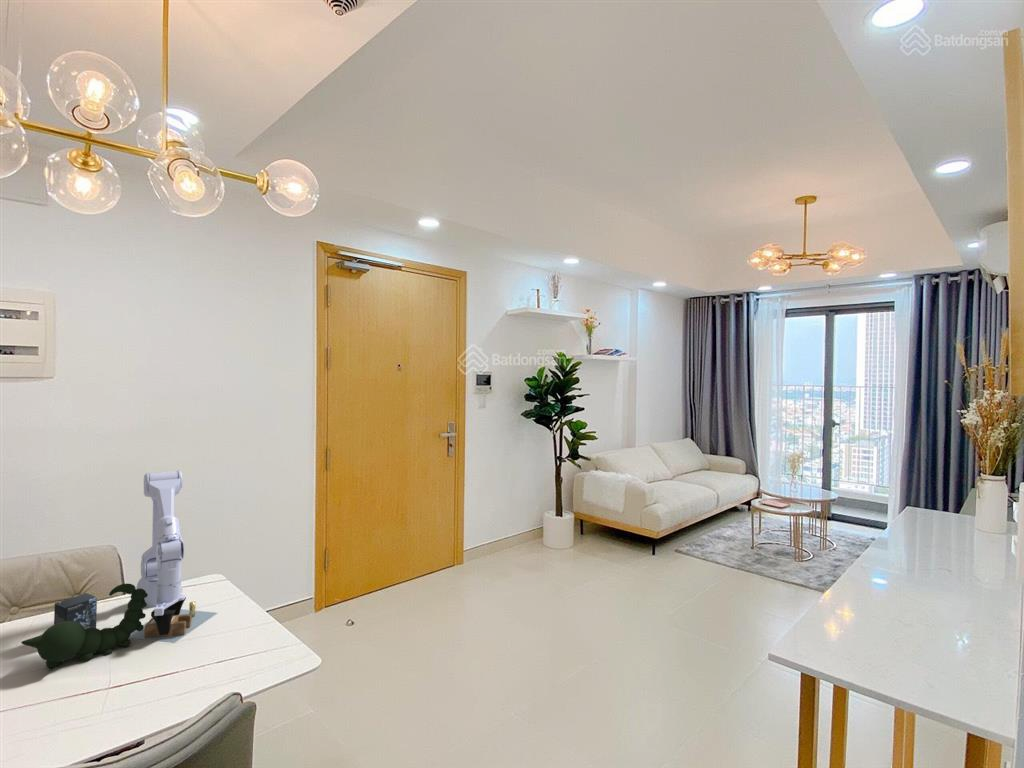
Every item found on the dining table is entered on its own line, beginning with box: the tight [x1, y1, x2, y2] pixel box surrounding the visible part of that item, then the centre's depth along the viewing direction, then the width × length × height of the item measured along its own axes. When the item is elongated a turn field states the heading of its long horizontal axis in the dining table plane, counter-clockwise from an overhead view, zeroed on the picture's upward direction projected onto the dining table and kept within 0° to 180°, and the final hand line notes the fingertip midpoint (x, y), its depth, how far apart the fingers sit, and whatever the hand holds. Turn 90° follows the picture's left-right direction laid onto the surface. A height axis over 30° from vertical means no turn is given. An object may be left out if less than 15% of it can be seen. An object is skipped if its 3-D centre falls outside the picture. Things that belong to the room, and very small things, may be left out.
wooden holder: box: [144, 614, 192, 638], centre depth 150 cm, size 10×6×4 cm, turn 104°
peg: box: [188, 601, 197, 618], centre depth 159 cm, size 2×2×4 cm
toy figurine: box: [21, 583, 148, 671], centre depth 136 cm, size 9×19×25 cm
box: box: [53, 592, 98, 629], centre depth 147 cm, size 8×6×11 cm
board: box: [129, 608, 218, 644], centre depth 155 cm, size 16×18×1 cm
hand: (168, 628), depth 150 cm, fingers closed on wooden holder, 5 cm apart
